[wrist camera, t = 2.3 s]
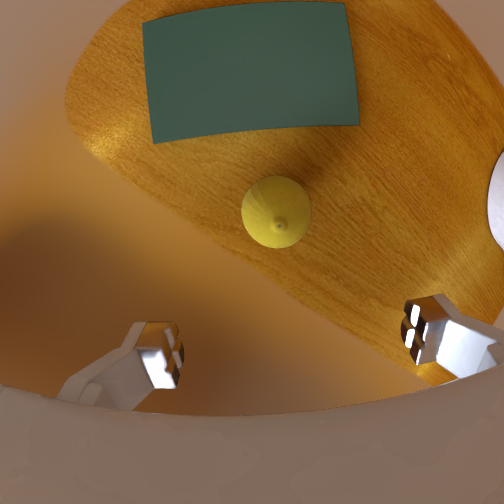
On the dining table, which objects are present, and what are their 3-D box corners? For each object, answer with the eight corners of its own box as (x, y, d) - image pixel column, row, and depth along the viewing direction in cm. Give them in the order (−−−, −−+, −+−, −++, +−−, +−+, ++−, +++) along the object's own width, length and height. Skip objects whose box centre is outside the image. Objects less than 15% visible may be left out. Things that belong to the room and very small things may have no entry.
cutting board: (340, 8, 20) (344, 2, 19) (355, 125, 25) (360, 125, 23) (147, 27, 21) (141, 22, 20) (158, 143, 26) (153, 144, 25)
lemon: (285, 158, 26) (295, 170, 19) (314, 210, 28) (333, 240, 21) (232, 189, 28) (222, 212, 20) (263, 238, 29) (264, 277, 22)
